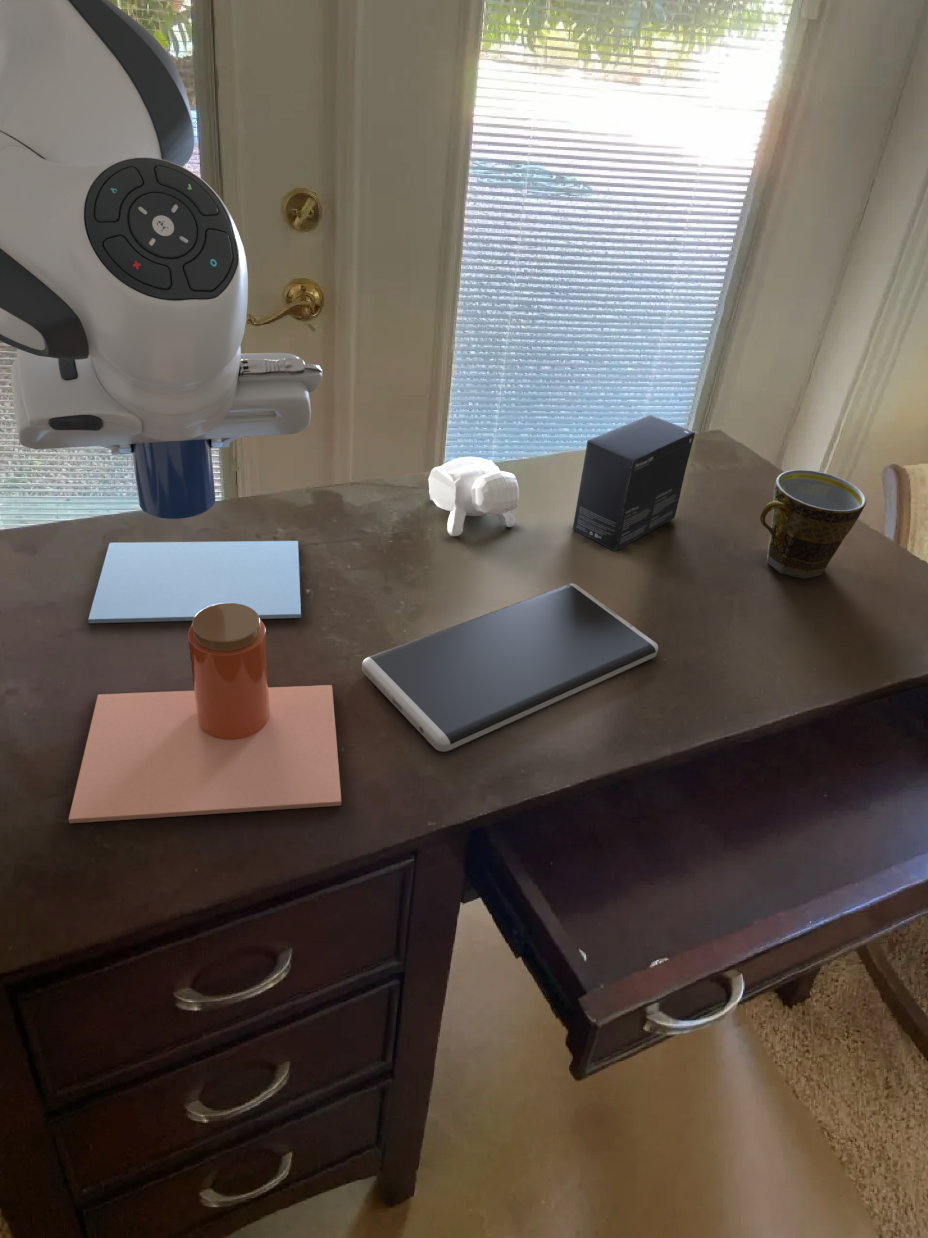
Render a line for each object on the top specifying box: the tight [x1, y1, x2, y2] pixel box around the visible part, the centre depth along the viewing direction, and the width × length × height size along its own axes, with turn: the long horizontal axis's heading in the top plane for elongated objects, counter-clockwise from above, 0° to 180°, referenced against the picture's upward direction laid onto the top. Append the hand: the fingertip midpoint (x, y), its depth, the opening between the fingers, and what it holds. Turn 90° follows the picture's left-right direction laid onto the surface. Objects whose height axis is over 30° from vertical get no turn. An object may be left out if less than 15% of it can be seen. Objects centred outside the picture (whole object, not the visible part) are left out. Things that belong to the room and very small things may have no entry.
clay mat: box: [68, 684, 342, 824], centre depth 73 cm, size 20×14×1 cm
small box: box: [572, 414, 696, 552], centre depth 107 cm, size 13×7×12 cm, turn 136°
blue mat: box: [87, 540, 302, 624], centre depth 92 cm, size 20×14×1 cm
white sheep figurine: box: [427, 456, 520, 537], centre depth 105 cm, size 9×8×15 cm
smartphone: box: [361, 583, 659, 753], centre depth 85 cm, size 13×27×2 cm, turn 127°
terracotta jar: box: [187, 603, 270, 740], centre depth 73 cm, size 6×6×10 cm
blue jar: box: [131, 439, 216, 520], centre depth 70 cm, size 6×6×10 cm
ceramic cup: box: [759, 469, 867, 580], centre depth 103 cm, size 13×10×10 cm
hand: (170, 442), depth 70 cm, fingers closed on blue jar, 6 cm apart
